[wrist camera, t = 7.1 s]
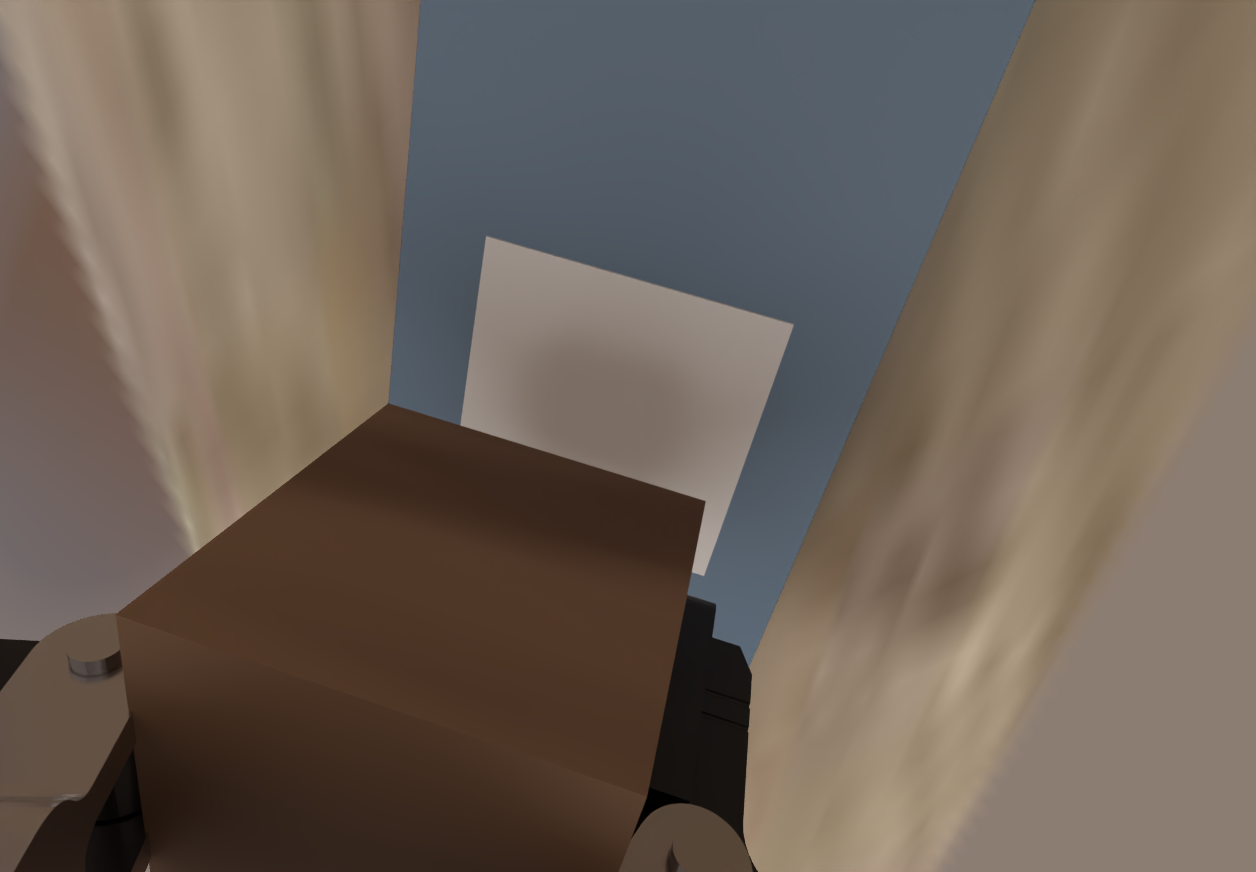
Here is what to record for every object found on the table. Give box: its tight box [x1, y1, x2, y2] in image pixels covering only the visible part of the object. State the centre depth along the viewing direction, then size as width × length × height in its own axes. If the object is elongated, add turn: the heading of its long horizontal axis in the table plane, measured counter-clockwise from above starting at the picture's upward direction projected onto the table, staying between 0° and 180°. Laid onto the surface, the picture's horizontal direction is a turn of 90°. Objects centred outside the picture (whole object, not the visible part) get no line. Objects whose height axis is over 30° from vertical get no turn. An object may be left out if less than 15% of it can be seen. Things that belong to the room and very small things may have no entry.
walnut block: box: [115, 403, 706, 872], centre depth 10 cm, size 5×5×5 cm
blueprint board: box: [388, 0, 1035, 667], centre depth 18 cm, size 23×11×1 cm, turn 167°
